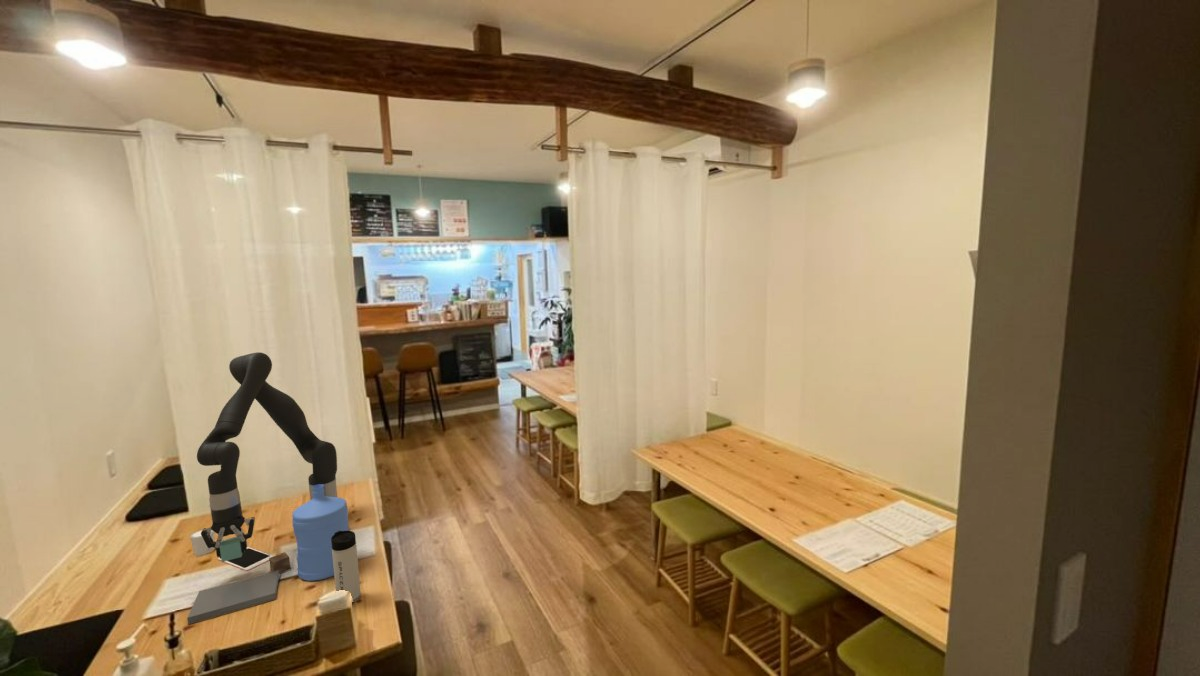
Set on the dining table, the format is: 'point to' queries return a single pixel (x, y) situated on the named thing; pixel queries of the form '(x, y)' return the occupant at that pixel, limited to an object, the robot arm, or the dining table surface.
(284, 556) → the walnut block
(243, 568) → the cell phone
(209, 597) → the slate board
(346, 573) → the travel mug
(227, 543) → the teal cube
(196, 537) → the white cylinder
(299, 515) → the water jug
